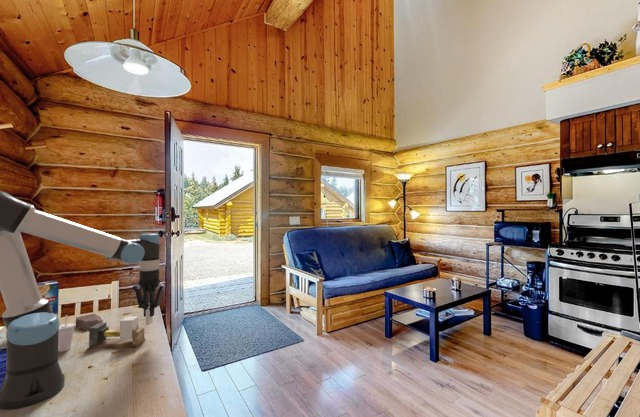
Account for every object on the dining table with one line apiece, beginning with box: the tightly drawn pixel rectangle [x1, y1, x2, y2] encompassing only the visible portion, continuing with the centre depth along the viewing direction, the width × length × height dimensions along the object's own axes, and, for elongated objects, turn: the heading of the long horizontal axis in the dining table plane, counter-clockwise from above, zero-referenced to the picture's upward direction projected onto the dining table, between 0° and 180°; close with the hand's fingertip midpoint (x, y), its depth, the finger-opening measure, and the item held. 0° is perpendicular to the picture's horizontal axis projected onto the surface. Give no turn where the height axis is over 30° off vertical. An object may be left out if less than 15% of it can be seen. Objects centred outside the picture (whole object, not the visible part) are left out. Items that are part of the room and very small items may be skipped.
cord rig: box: [88, 322, 146, 349], centre depth 126 cm, size 20×7×8 cm, turn 93°
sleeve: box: [119, 315, 140, 339], centre depth 126 cm, size 5×5×8 cm
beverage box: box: [37, 280, 60, 317], centre depth 138 cm, size 7×11×22 cm, turn 146°
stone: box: [75, 313, 104, 331], centre depth 145 cm, size 9×12×5 cm
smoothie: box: [58, 314, 76, 353], centre depth 120 cm, size 6×6×14 cm
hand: (148, 323), depth 127 cm, fingers closed
